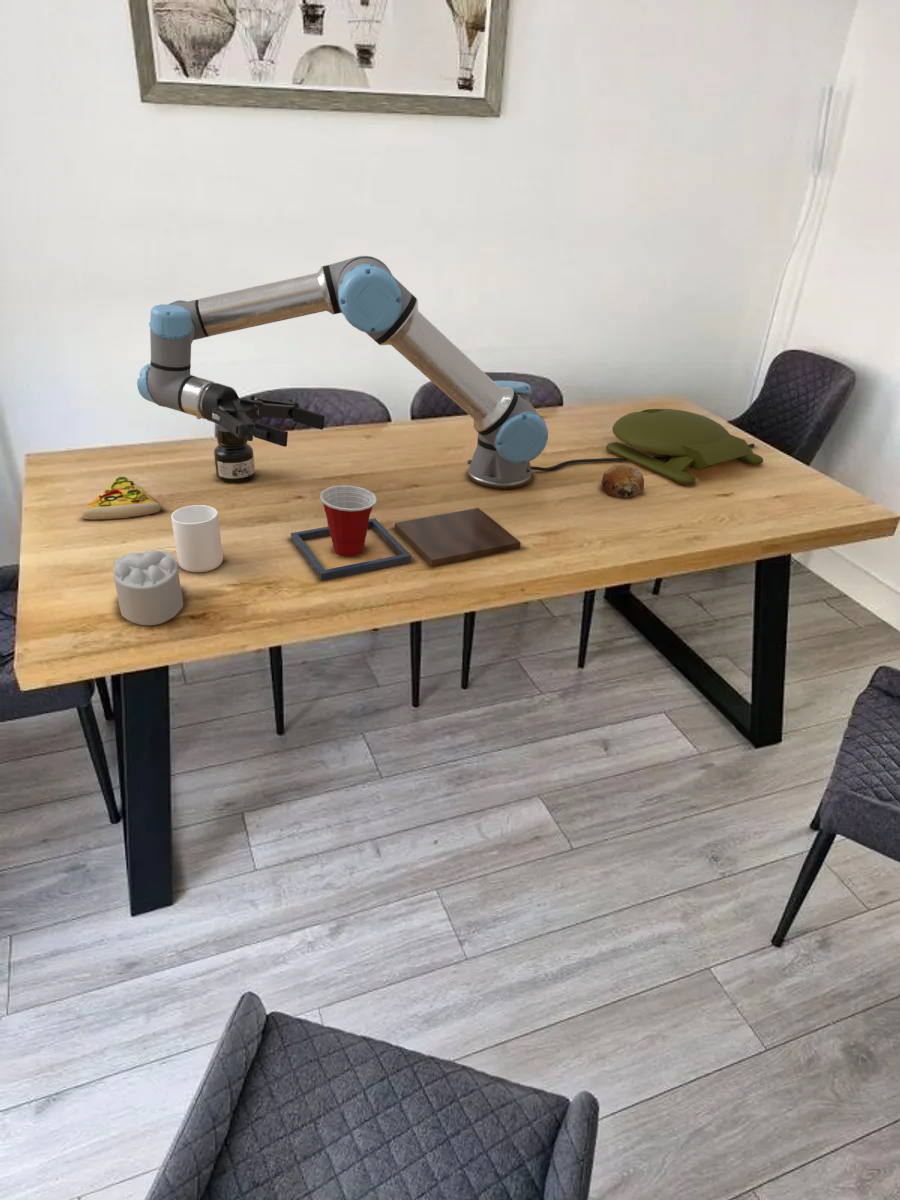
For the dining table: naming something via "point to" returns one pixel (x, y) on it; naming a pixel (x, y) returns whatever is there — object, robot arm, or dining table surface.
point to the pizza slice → (121, 502)
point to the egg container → (148, 587)
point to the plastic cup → (348, 517)
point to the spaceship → (677, 442)
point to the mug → (197, 538)
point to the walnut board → (456, 536)
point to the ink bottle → (233, 457)
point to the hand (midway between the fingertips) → (305, 430)
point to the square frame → (353, 568)
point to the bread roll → (622, 481)
